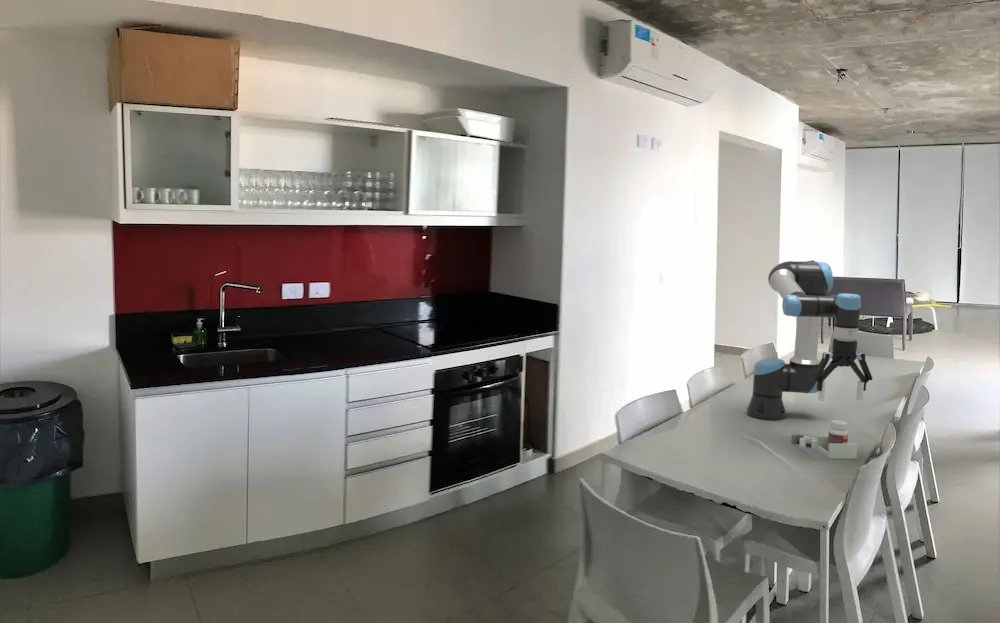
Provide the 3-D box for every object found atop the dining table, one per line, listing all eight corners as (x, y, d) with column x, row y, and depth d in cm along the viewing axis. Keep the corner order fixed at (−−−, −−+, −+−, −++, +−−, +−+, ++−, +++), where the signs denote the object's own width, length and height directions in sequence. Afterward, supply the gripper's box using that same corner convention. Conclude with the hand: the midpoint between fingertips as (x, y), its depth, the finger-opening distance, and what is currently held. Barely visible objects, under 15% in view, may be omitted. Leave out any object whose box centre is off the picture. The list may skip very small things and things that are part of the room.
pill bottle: (845, 457, 249) (848, 425, 248) (826, 454, 252) (828, 423, 251) (847, 452, 255) (849, 421, 253) (827, 449, 258) (830, 418, 256)
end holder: (815, 449, 258) (816, 435, 257) (841, 449, 259) (843, 435, 258) (829, 458, 249) (830, 444, 248) (856, 458, 249) (857, 444, 248)
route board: (789, 444, 267) (790, 433, 266) (829, 444, 268) (830, 433, 267) (814, 462, 248) (815, 450, 248) (857, 462, 249) (858, 450, 249)
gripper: (814, 341, 244) (810, 402, 247) (887, 341, 245) (881, 402, 248) (804, 337, 251) (799, 397, 254) (874, 337, 252) (869, 397, 255)
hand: (840, 400), depth 251 cm, fingers open, 13 cm apart
